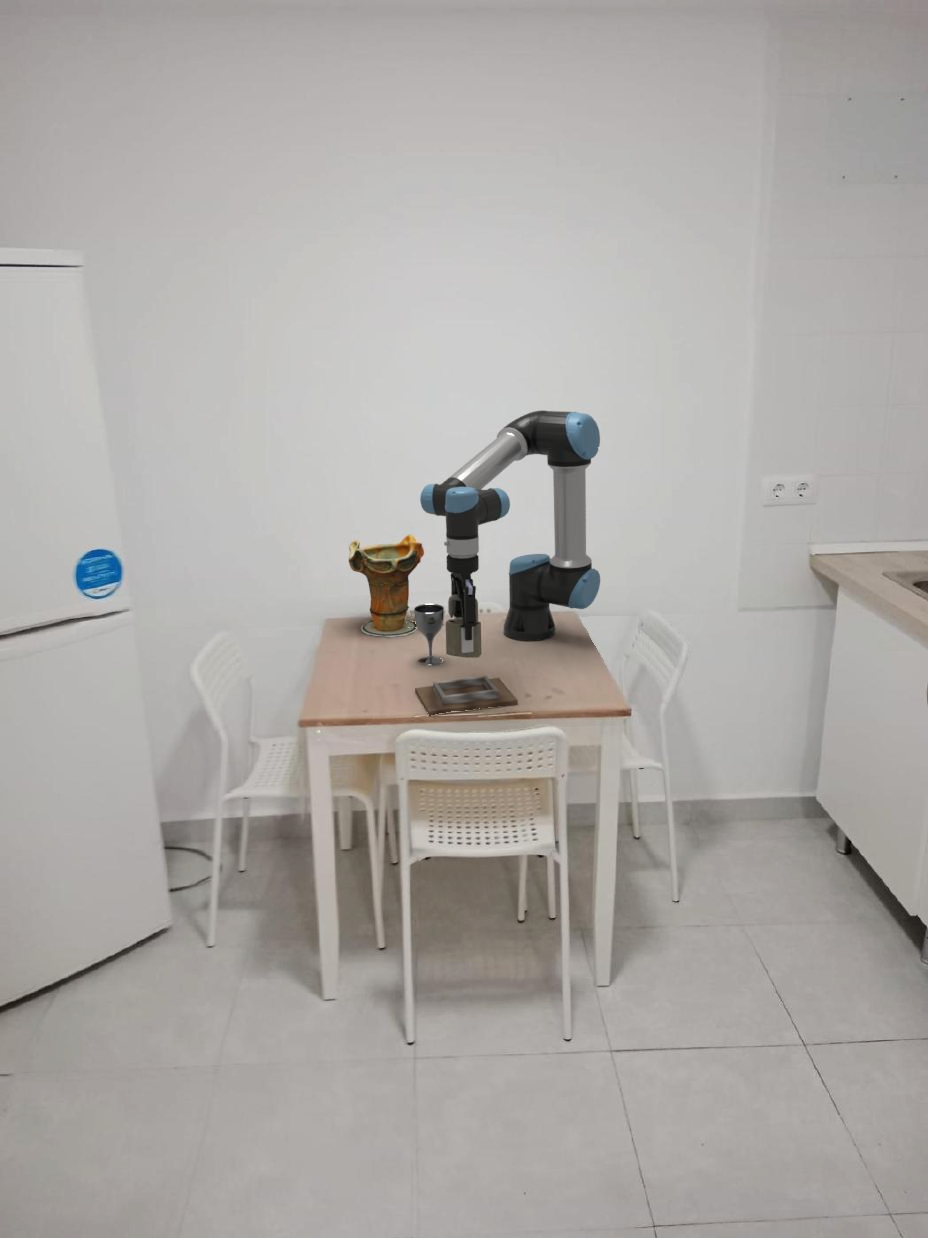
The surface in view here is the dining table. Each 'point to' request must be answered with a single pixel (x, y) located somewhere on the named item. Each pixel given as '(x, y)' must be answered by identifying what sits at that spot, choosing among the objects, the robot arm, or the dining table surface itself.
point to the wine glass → (429, 627)
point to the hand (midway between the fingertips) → (463, 647)
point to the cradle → (465, 695)
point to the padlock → (455, 633)
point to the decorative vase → (387, 583)
